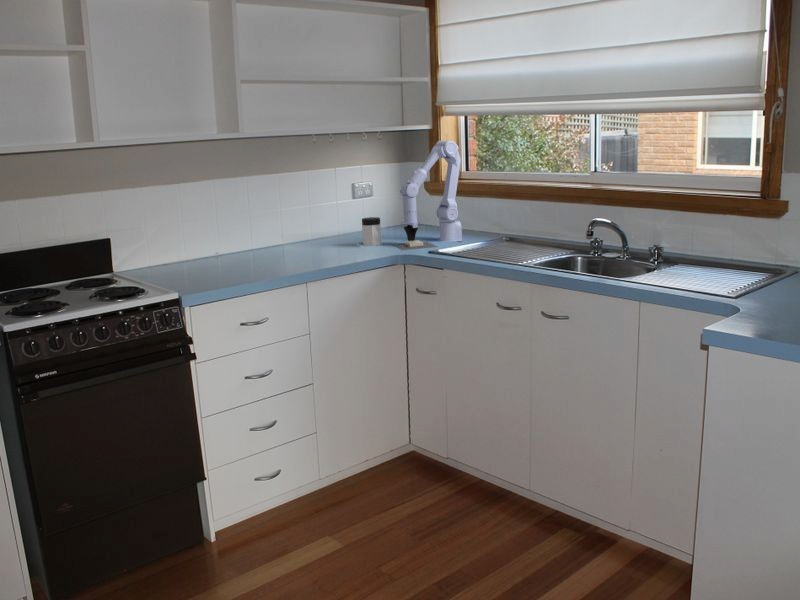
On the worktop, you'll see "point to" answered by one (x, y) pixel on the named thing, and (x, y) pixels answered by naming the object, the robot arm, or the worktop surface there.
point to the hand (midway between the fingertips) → (411, 242)
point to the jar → (371, 231)
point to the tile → (414, 243)
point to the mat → (405, 247)
